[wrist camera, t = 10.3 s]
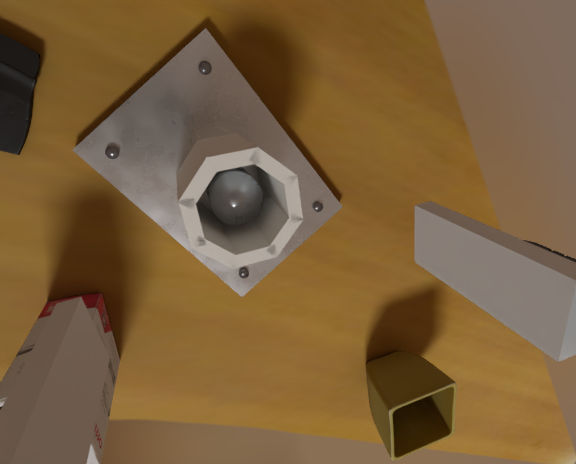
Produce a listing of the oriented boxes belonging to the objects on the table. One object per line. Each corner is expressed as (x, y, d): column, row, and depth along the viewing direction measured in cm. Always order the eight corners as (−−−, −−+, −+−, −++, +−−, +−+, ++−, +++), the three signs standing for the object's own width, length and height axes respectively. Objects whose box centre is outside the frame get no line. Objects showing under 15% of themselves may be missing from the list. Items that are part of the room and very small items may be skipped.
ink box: (44, 299, 32) (-20, 402, 21) (103, 290, 33) (71, 382, 22) (68, 374, 35) (24, 495, 24) (121, 363, 36) (101, 472, 26)
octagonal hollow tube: (192, 232, 32) (199, 278, 24) (168, 145, 29) (167, 164, 21) (275, 212, 34) (307, 249, 26) (261, 127, 31) (292, 139, 23)
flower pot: (351, 354, 46) (389, 410, 38) (410, 333, 47) (458, 382, 39) (356, 402, 49) (392, 462, 41) (410, 381, 51) (455, 434, 43)
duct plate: (75, 148, 28) (48, 163, 22) (204, 30, 28) (214, 11, 22) (240, 292, 37) (254, 332, 31) (338, 204, 37) (372, 226, 31)
